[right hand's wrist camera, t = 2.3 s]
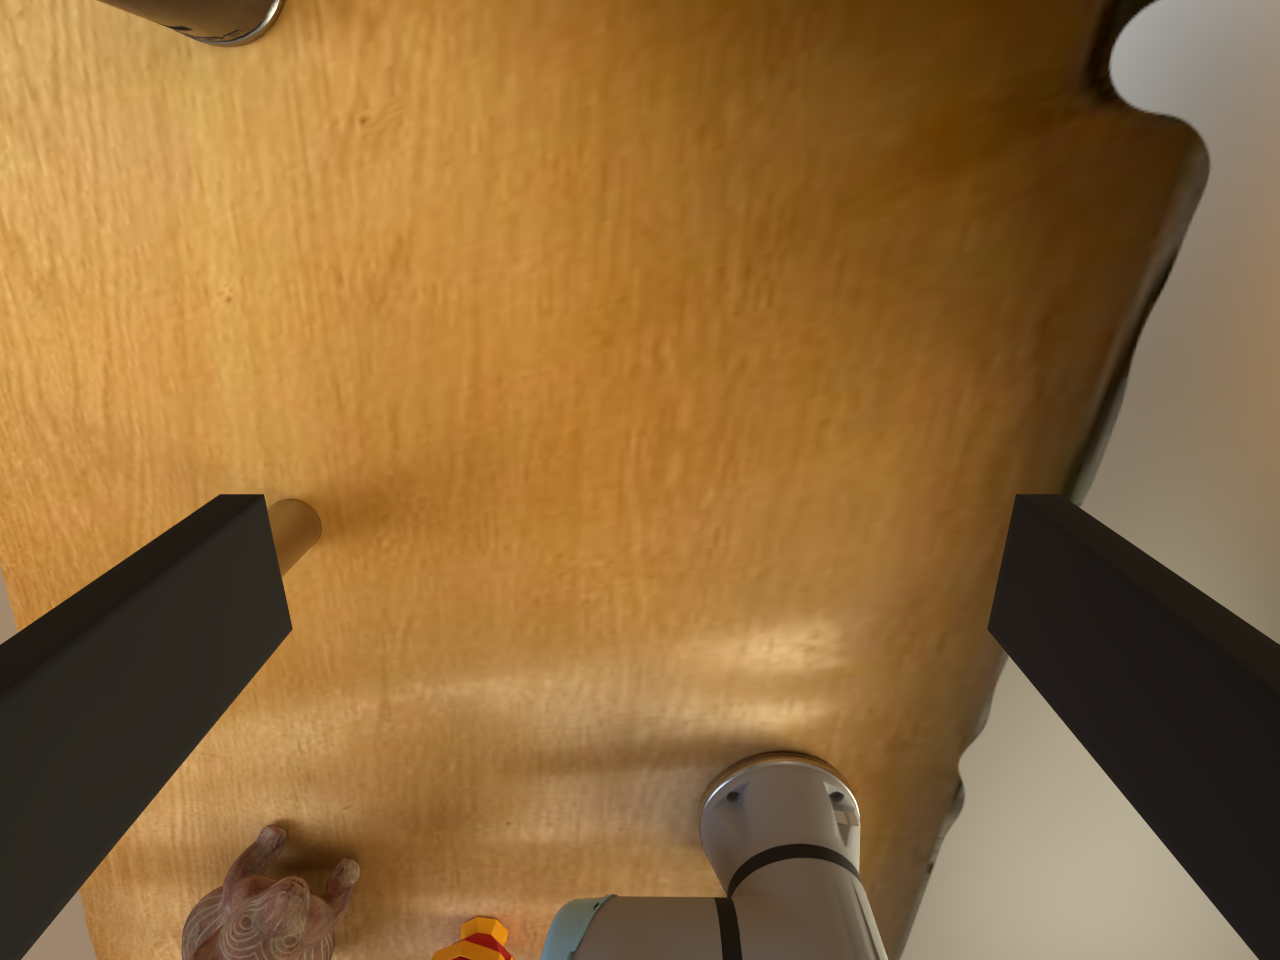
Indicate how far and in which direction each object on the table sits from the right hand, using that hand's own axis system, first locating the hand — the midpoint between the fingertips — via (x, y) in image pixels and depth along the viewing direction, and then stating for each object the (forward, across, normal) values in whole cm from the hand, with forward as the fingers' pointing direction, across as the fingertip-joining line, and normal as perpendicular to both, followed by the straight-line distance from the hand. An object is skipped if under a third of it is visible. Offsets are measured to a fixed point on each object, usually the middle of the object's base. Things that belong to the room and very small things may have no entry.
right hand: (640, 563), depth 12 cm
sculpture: (+41, +35, +56) cm, 78 cm away
